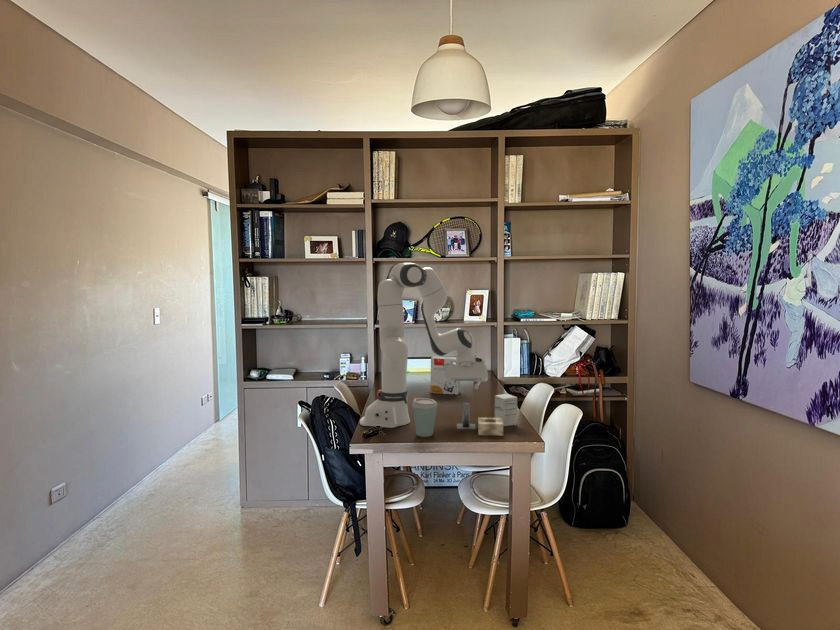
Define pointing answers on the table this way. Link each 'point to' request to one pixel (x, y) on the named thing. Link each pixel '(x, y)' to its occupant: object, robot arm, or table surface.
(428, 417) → the disposable coffee cup
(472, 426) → the rubber mat
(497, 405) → the supplement box
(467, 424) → the steel pin
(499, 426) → the birch block
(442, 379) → the hard drive box
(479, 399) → the table surface
